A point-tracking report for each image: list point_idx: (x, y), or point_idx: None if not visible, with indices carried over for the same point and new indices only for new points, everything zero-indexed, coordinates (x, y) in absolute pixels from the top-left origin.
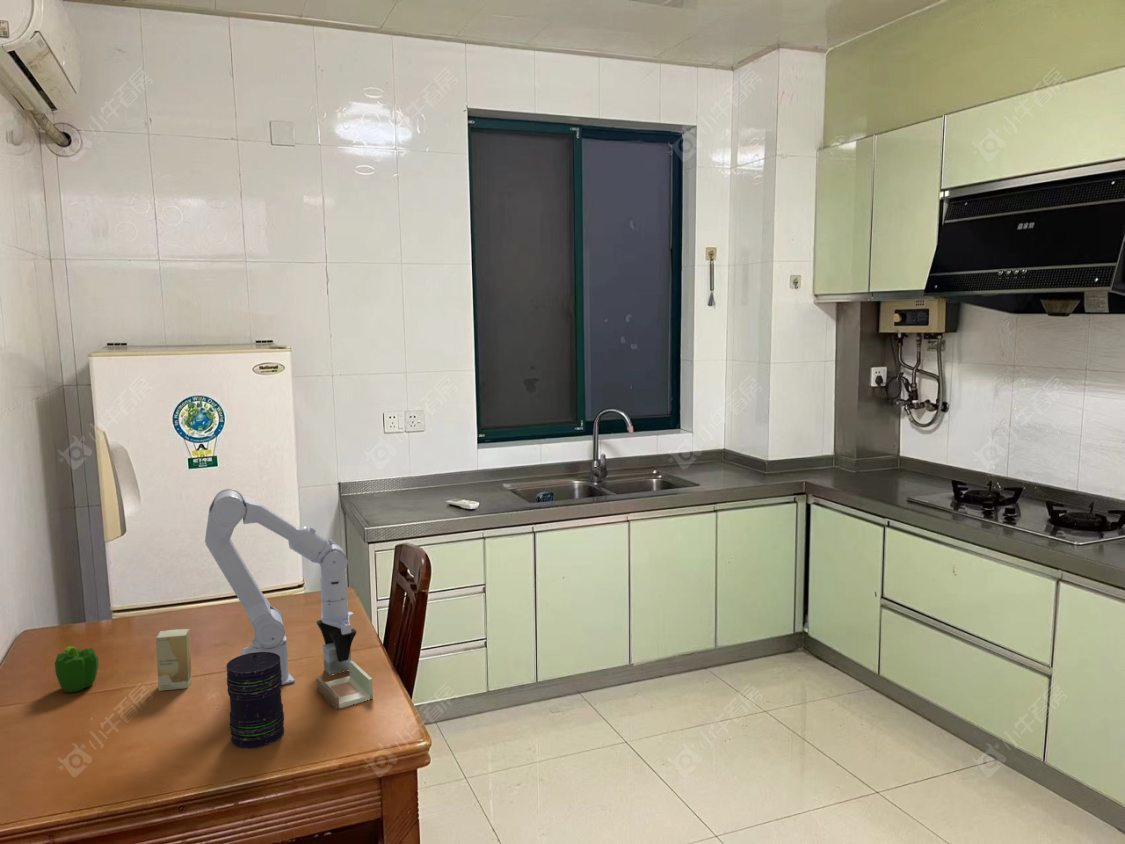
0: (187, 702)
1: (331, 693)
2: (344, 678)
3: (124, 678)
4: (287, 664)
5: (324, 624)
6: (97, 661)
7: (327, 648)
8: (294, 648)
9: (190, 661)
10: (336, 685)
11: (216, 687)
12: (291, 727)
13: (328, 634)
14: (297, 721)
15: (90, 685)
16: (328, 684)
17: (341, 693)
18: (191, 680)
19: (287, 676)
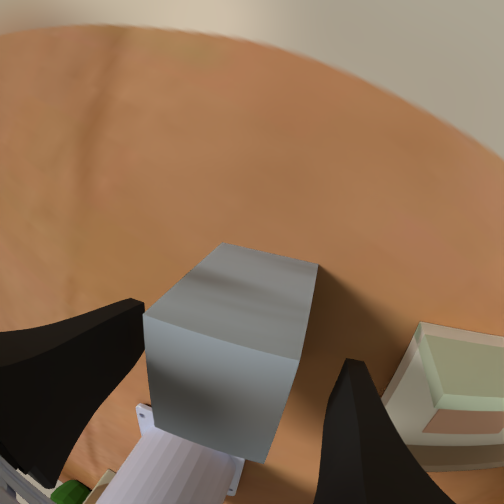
0: None
1: (490, 467)
2: (416, 374)
3: (73, 469)
4: (196, 477)
5: (42, 469)
6: (67, 500)
7: (226, 451)
8: (14, 279)
9: (95, 497)
10: (436, 418)
11: None
12: (456, 499)
13: (80, 402)
14: (452, 492)
15: (87, 489)
16: (399, 429)
17: (492, 426)
18: (110, 470)
19: (217, 451)
